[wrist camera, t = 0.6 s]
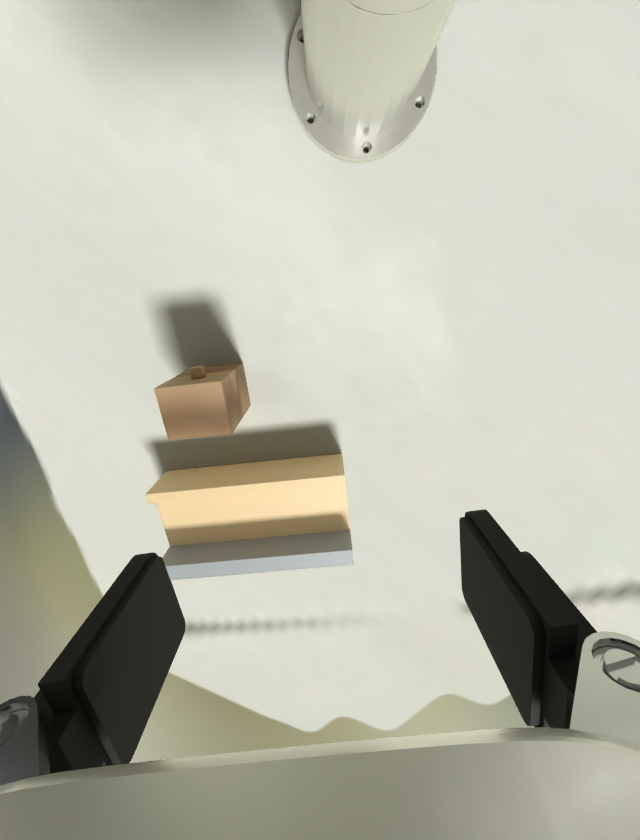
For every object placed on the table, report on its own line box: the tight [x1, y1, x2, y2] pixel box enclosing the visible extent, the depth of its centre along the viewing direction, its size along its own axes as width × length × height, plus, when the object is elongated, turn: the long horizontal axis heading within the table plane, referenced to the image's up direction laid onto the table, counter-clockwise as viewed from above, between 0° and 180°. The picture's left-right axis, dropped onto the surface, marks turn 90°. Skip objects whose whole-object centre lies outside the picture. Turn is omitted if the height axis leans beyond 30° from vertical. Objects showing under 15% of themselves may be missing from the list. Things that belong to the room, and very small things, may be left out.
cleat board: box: [146, 453, 354, 580], centre depth 42 cm, size 10×22×8 cm, turn 96°
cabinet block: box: [154, 363, 251, 440], centre depth 36 cm, size 6×6×9 cm
